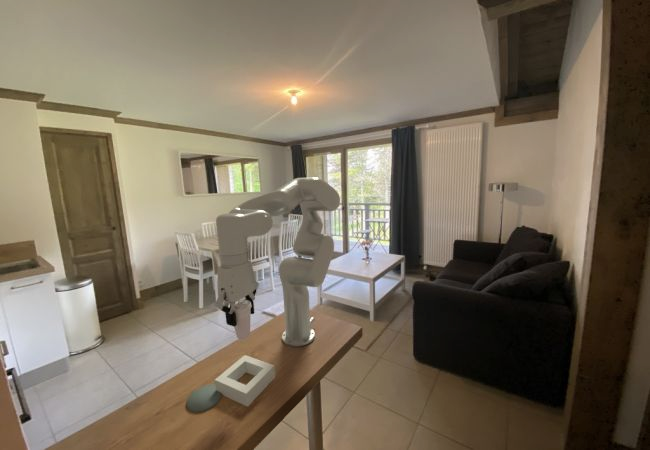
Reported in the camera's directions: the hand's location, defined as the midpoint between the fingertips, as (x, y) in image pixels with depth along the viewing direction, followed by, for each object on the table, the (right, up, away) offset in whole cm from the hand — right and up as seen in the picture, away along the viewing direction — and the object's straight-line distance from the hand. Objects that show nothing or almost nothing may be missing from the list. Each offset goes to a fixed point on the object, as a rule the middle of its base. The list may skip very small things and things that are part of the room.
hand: (241, 318), depth 76 cm
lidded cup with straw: (0, -6, +1) cm, 6 cm away
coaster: (-10, -22, -1) cm, 24 cm away
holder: (+1, -21, +3) cm, 21 cm away
